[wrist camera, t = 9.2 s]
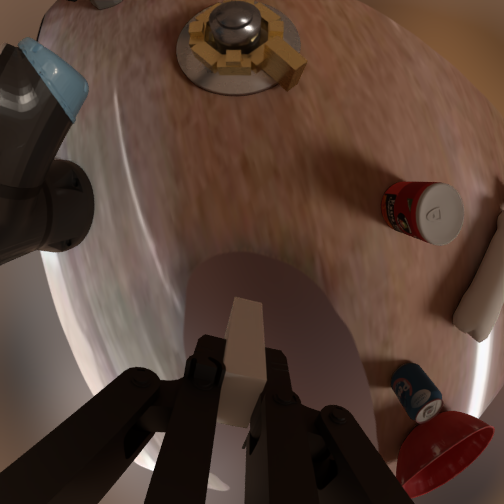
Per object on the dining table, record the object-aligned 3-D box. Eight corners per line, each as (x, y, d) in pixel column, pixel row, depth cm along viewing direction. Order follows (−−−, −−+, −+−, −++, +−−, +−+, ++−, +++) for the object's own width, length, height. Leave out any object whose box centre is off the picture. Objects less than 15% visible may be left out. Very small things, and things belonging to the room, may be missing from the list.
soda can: (387, 369, 44) (413, 409, 33) (418, 354, 44) (448, 390, 32) (389, 392, 46) (411, 431, 34) (418, 378, 45) (444, 414, 34)
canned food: (371, 194, 37) (409, 199, 27) (410, 173, 36) (454, 172, 26) (390, 240, 39) (429, 258, 28) (427, 217, 38) (470, 228, 27)
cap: (162, 86, 34) (140, 64, 25) (199, -1, 30) (189, -32, 21) (284, 109, 35) (292, 88, 26) (309, 17, 31) (320, -14, 22)
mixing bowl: (476, 409, 50) (500, 439, 35) (404, 468, 55) (418, 502, 40) (453, 374, 46) (487, 413, 31) (360, 449, 50) (376, 496, 35)
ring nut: (258, 114, 33) (260, 96, 26) (177, 43, 31) (163, 18, 23) (323, 65, 31) (337, 41, 24) (240, 0, 29) (238, -30, 21)
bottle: (476, 338, 40) (528, 209, 34) (488, 349, 32) (545, 200, 27) (445, 318, 44) (498, 189, 39) (453, 327, 36) (512, 175, 31)
